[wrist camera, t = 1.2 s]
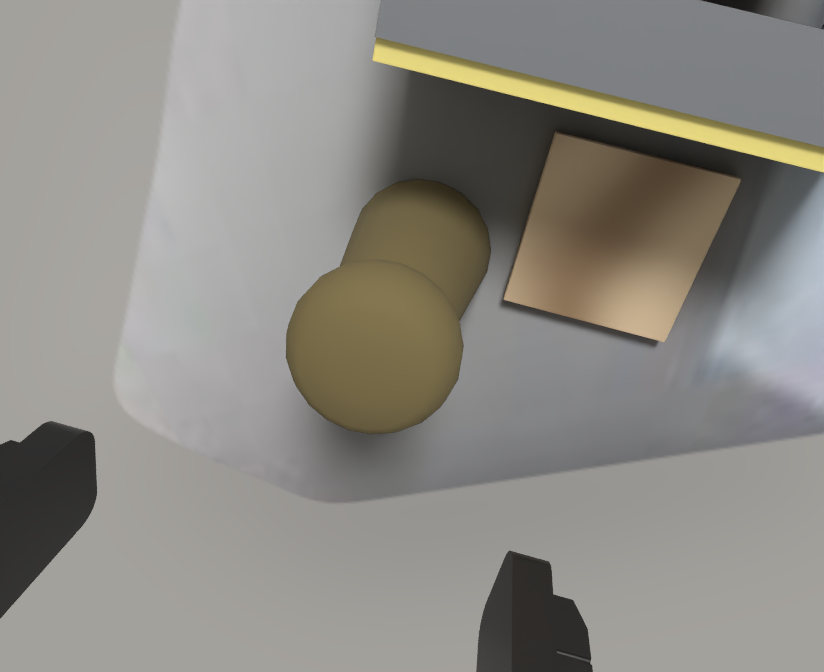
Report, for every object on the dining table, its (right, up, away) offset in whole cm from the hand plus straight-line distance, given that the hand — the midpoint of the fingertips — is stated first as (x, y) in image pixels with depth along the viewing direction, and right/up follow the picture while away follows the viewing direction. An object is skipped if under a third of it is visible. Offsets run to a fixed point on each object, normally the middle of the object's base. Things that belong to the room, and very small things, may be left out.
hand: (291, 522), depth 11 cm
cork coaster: (+10, +7, +13) cm, 18 cm away
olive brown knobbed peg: (+3, +7, +15) cm, 17 cm away
